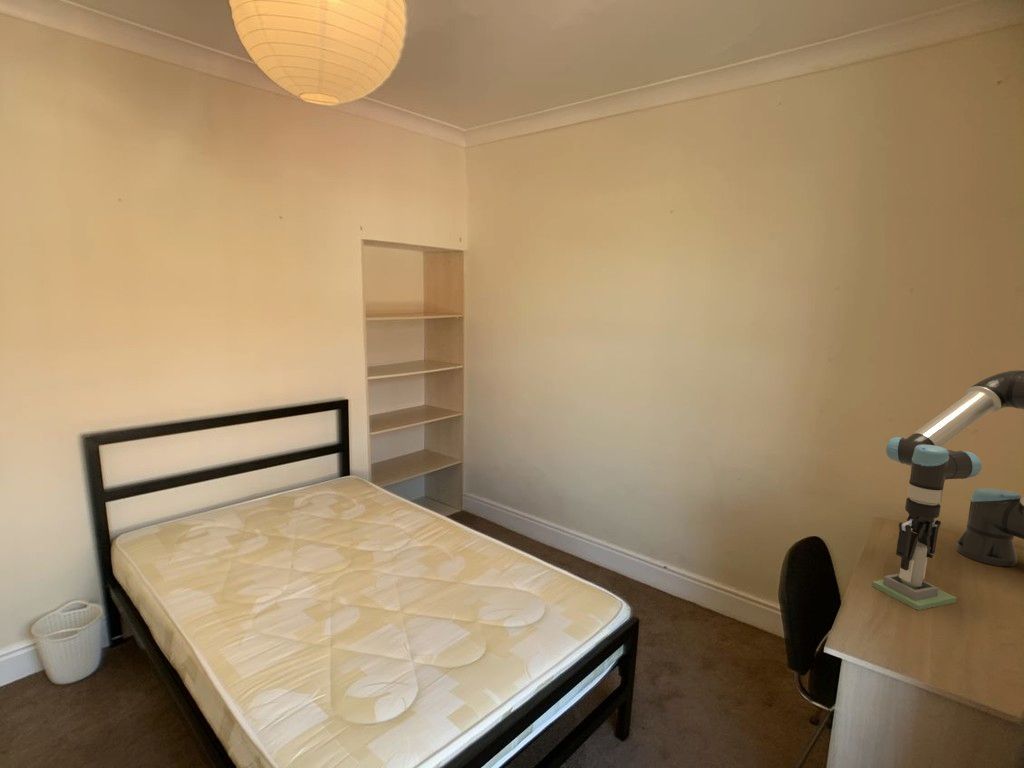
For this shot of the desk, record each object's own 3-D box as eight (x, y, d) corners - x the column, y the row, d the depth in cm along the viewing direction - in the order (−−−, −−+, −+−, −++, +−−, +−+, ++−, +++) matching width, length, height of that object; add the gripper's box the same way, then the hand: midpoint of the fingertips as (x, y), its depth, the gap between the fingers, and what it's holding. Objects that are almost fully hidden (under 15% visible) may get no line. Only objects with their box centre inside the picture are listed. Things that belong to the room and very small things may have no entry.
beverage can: (924, 589, 144) (930, 549, 142) (904, 586, 145) (910, 546, 144) (917, 581, 148) (923, 542, 147) (897, 578, 150) (903, 539, 148)
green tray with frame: (907, 579, 156) (909, 566, 156) (955, 602, 144) (957, 589, 144) (871, 586, 152) (873, 573, 151) (918, 610, 140) (920, 597, 139)
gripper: (931, 493, 150) (919, 567, 153) (887, 498, 144) (876, 575, 147) (960, 502, 143) (947, 580, 146) (915, 508, 137) (902, 589, 140)
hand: (911, 578), depth 147 cm, fingers closed on beverage can, 5 cm apart
